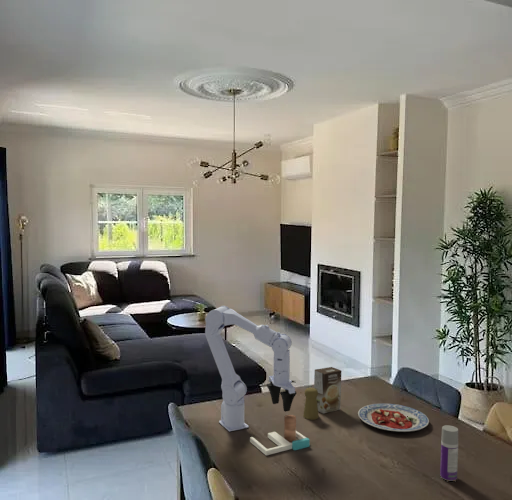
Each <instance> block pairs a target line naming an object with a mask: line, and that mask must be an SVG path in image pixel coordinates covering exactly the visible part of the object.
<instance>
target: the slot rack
mask: <svg viewBox="0 0 512 500" xmlns="http://www.w3.org/2000/svg"><path fill="white" fill-rule="evenodd" d="M267 438H268V439H269V440H270V441H271V442H273V443H274V444H276V446H275V447H270V448H267V447H266V446H265V445H263V444H262V443H261V442H260V441H258V440H257V439H256V438H255V437H253V436H251V437H249V443H251V444H252V445H253V446H254V447H255V448H257V449H258V450H259V451H260V452H261V453H263V455H265V456H269V455H274V454H278V453H281V452H284V451H288V450H293V451H298V450H302V449H305V448H310V445H311V444H310V438H309V437H306V436H305V435H303V434H302V433H300V432H299V431H297V430H296V441H292V442H288V441H287V440H286V439H284V436H282V435H281V434H279V433H278V432H276V431H272V432H268V433H267Z"/></svg>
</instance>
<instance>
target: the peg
mask: <svg viewBox="0 0 512 500" xmlns="http://www.w3.org/2000/svg"><path fill="white" fill-rule="evenodd" d="M283 430H284V431H283V438H284V439H286V440H287V441H288V442H290V443H292V441H296V440H297V437H296V431H297V416H296V415H294V414H285V416H284V423H283Z"/></svg>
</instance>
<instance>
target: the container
mask: <svg viewBox="0 0 512 500" xmlns="http://www.w3.org/2000/svg"><path fill="white" fill-rule="evenodd" d="M440 439H441V442H440V444H441V445H440V465H439V466H440V467H439V472H440V473H439V477H440V476H441V477H440V479H441V478H443V479H445V480H449V481H453V480H456V479H457V480H458V464H459V462H458V460H459V459H458V458H459V428H458V427H456V426H453V425H449V424H448V425H447V424H445V425H443V426H441V437H440ZM443 479H442V480H443ZM445 480H444V481H445Z"/></svg>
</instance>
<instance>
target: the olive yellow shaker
mask: <svg viewBox="0 0 512 500" xmlns="http://www.w3.org/2000/svg"><path fill="white" fill-rule="evenodd" d="M304 396H305V402H304V408H303V415H302V417H303V418H304V419H306V420H310V421H311V420H312V421H314V420H317V419H318V420H319V418H320V417H319V411H318V406H317V396H318V391H317V389H315V388H314V387H307V388H305V390H304Z"/></svg>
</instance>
